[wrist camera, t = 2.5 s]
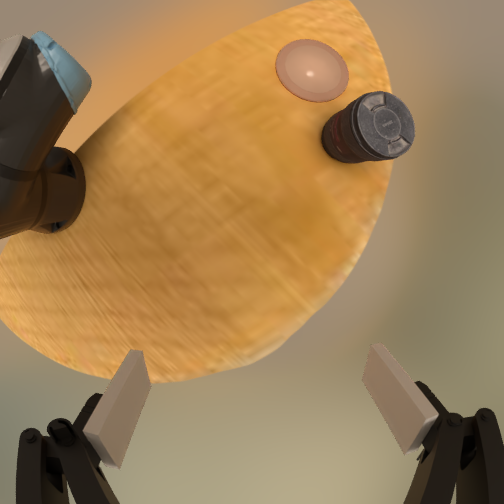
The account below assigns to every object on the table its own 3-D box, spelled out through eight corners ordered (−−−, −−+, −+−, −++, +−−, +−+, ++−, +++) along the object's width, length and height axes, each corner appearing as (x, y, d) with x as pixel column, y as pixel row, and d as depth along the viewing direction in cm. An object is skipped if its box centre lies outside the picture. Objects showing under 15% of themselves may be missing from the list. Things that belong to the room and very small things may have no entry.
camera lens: (306, 132, 38) (341, 106, 23) (344, 108, 37) (391, 79, 23) (335, 175, 40) (383, 172, 25) (372, 150, 39) (427, 139, 24)
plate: (265, 85, 36) (265, 83, 35) (288, 31, 33) (289, 29, 33) (336, 114, 37) (338, 113, 37) (354, 59, 35) (355, 57, 34)
